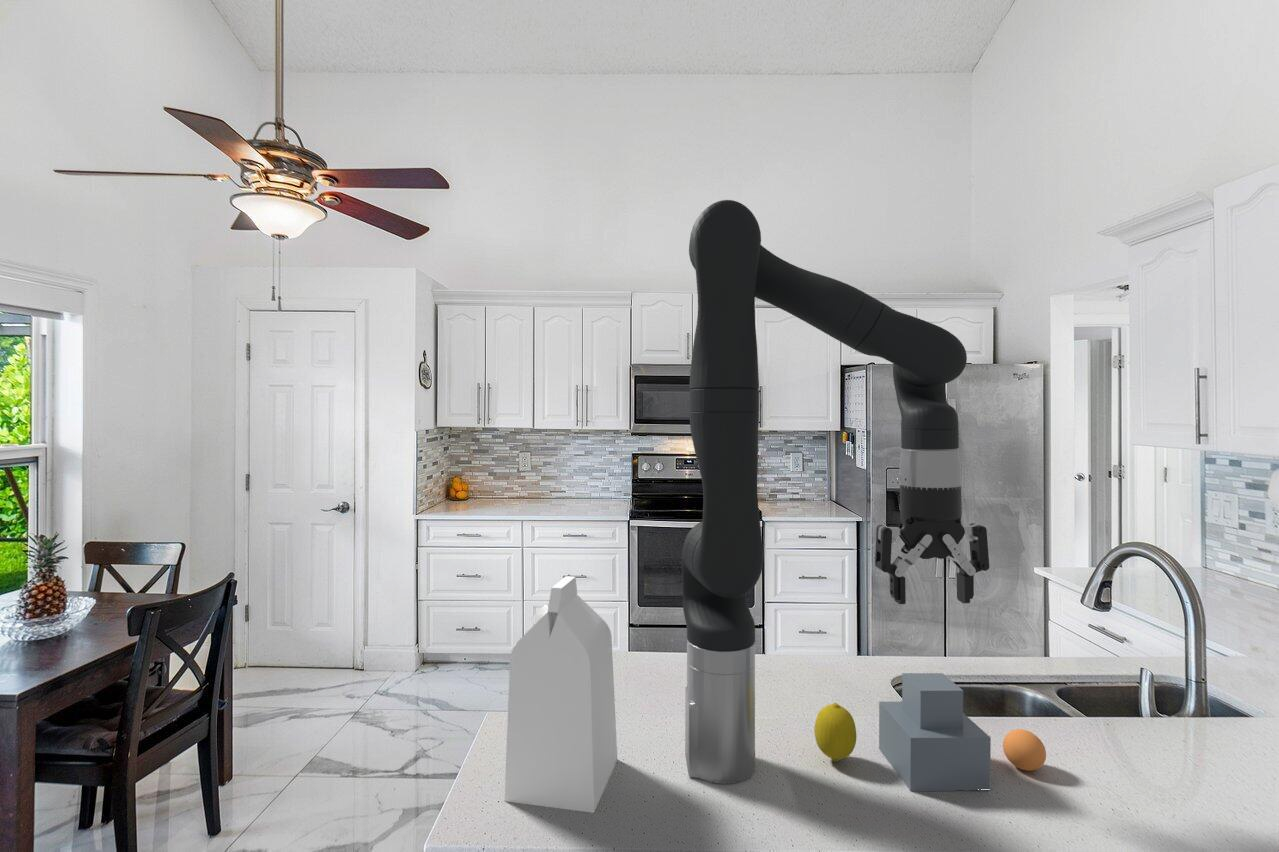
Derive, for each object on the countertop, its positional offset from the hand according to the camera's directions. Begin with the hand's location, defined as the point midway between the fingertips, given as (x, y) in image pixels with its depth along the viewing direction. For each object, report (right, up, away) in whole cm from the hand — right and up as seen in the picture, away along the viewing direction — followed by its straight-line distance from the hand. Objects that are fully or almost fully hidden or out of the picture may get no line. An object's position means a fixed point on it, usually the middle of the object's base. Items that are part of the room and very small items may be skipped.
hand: (931, 602), depth 84 cm
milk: (-49, -23, -2) cm, 54 cm away
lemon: (-12, -23, +2) cm, 26 cm away
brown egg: (+13, -20, 0) cm, 24 cm away
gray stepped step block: (0, -23, 0) cm, 23 cm away
